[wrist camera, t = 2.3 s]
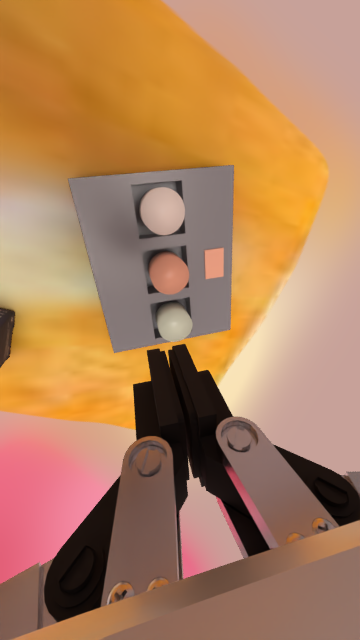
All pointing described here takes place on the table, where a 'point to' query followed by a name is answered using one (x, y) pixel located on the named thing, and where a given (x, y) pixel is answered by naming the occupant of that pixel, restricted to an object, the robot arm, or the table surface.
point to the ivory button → (162, 210)
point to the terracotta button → (168, 272)
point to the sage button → (173, 321)
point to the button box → (158, 250)
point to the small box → (5, 333)
